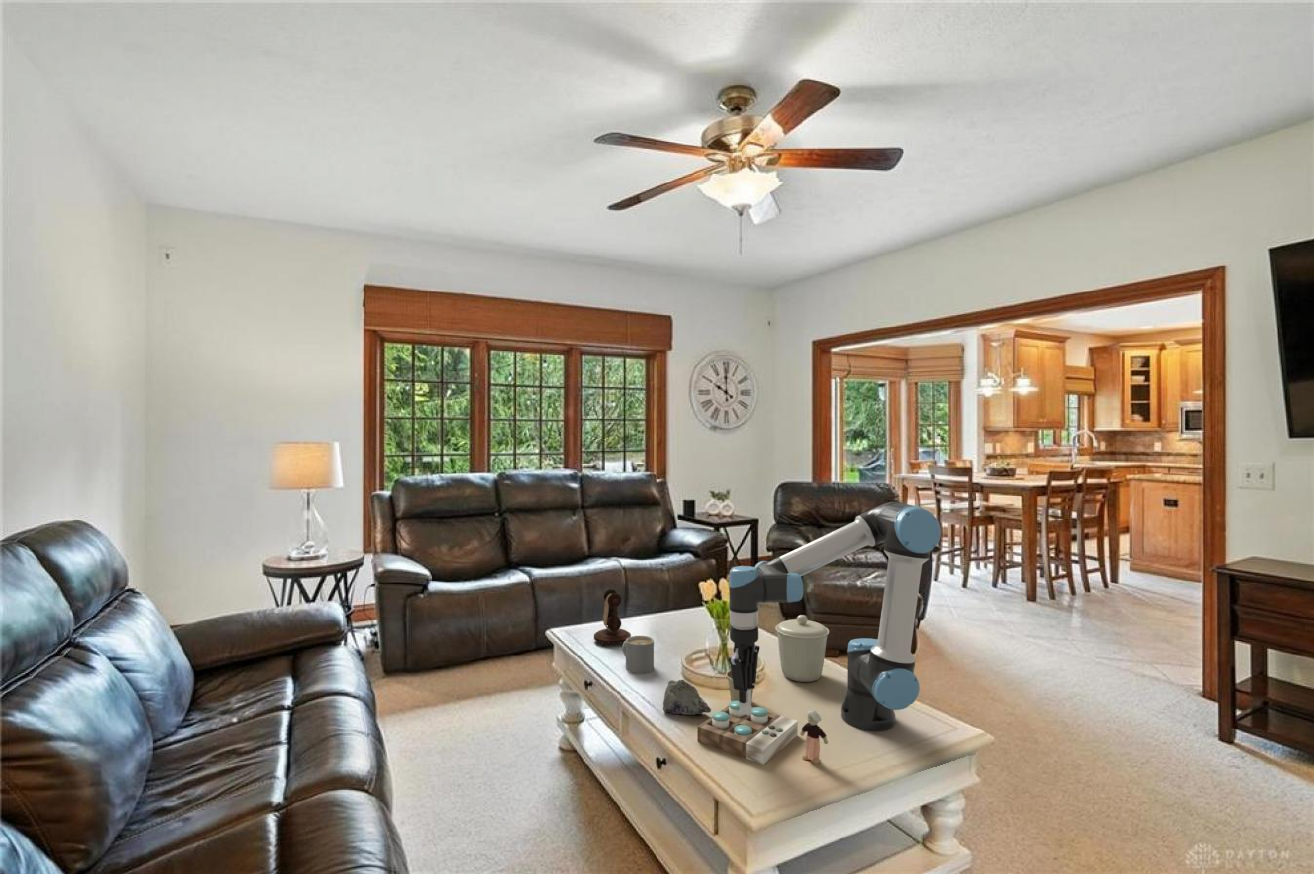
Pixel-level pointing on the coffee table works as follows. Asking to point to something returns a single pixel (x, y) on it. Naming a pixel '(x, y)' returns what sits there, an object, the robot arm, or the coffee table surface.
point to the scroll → (611, 621)
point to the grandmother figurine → (813, 737)
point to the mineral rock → (683, 699)
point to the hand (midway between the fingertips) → (745, 713)
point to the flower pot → (733, 692)
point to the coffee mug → (639, 654)
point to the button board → (756, 746)
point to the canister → (802, 648)
